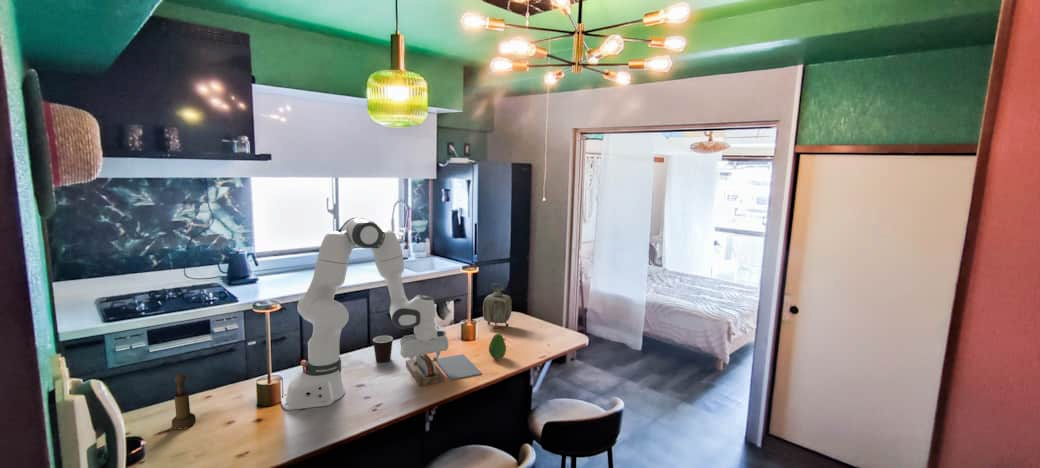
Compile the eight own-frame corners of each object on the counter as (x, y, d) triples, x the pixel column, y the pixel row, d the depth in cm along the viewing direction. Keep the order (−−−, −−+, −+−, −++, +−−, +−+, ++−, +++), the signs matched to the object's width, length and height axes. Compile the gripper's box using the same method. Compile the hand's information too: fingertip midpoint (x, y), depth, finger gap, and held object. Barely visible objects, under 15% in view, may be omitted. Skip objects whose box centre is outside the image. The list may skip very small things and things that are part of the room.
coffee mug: (387, 365, 213) (387, 343, 211) (369, 362, 215) (369, 341, 213) (399, 354, 224) (399, 334, 223) (382, 352, 226) (381, 332, 224)
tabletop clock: (511, 326, 267) (512, 282, 263) (507, 331, 258) (508, 286, 254) (486, 323, 270) (487, 280, 266) (481, 328, 262) (482, 284, 258)
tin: (434, 379, 200) (434, 360, 199) (427, 381, 199) (427, 362, 198) (421, 366, 213) (421, 348, 212) (415, 367, 211) (415, 349, 210)
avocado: (503, 354, 228) (503, 330, 226) (507, 361, 221) (508, 336, 219) (486, 356, 226) (487, 331, 224) (491, 363, 218) (491, 338, 216)
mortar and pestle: (169, 431, 158) (165, 380, 156) (174, 421, 164) (170, 372, 161) (193, 427, 161) (189, 377, 158) (197, 417, 167) (193, 369, 164)
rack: (419, 386, 194) (419, 380, 194) (406, 365, 213) (406, 360, 212) (444, 381, 199) (444, 375, 199) (429, 361, 218) (429, 356, 217)
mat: (451, 380, 200) (451, 379, 200) (434, 360, 219) (434, 359, 219) (481, 374, 207) (481, 373, 207) (463, 355, 226) (463, 354, 226)
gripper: (402, 339, 196) (402, 370, 198) (449, 331, 205) (449, 361, 208) (398, 333, 201) (398, 364, 203) (444, 326, 211) (444, 356, 213)
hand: (424, 363), depth 206 cm, fingers open, 8 cm apart
